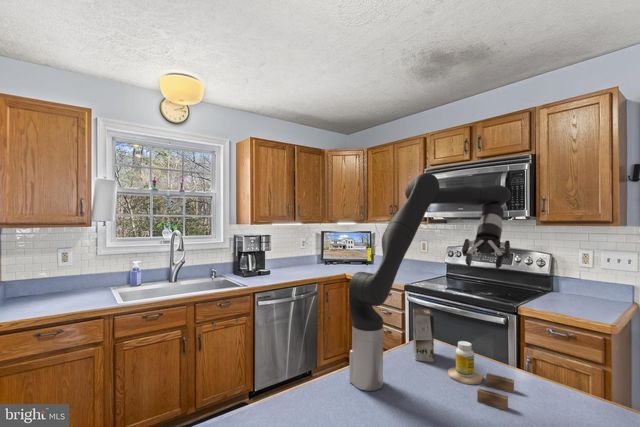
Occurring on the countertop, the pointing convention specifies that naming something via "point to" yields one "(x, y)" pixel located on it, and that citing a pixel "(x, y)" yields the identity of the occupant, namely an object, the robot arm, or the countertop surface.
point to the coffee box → (423, 334)
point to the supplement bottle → (464, 359)
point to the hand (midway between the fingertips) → (482, 265)
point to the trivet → (474, 379)
